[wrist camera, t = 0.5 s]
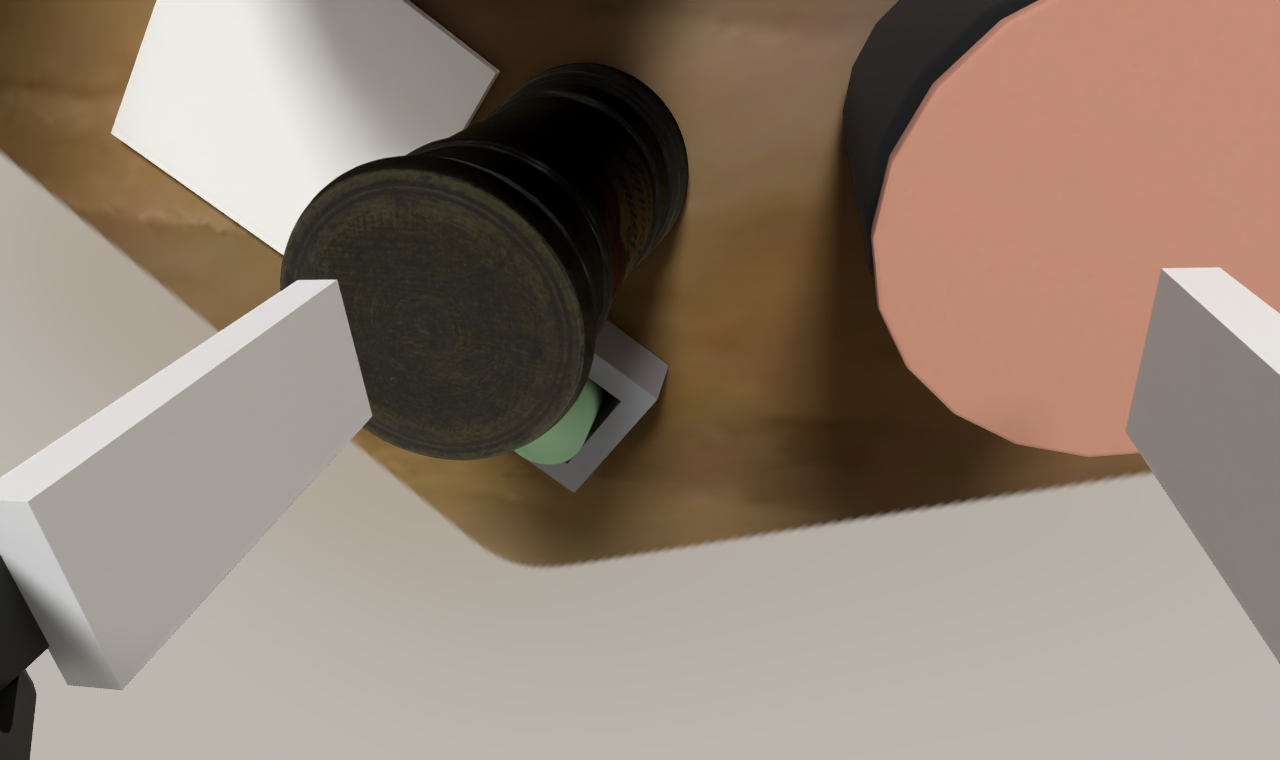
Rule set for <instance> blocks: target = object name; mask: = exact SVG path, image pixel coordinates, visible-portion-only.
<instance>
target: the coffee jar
mask: <svg viewBox="0 0 1280 760" xmlns="http://www.w3.org/2000/svg"><path fill="white" fill-rule="evenodd" d="M843 116H844V126H845V136H846V146H847V155H848V160H849V165H850V170H851V175H852V181H853V186H854V191H855V196H856V202H857V207H858V212H859V217H860V222H861V228H862V233H863V238H864V243H865V249H866V254H867V259H868V264H869V269H870V271H871V273H872V275H873V278H874V280H875V286H876V297H877V307H878V309H879V311H880V314H881V316H882V318H883V320H884V322H885V324H886V326H887V328H888V330H889V332H890V335H891V337H892V339H893V341H894V343H895V345H896V347H897V349H898V351H899V353H900V355H901V358H902V360H903V362H904V364H905V366H906V367H907V368H908V369H909V370H910V371H911V372H912V373H913V374H914V375H915V376H916V377H917V378H918V379H919V380H920V381H921V382H922V383H923V384H924V385H925V386H926V387H927V388H928V389H929V390H930V391H931V392H932V393H933V394H934V395H935V396H936V397H937V398H938V399H939V400H940V401H941V402H942V403H943V404H944V405H945V406H946V407H947V408H948V409H949V410H950V411H952V412H953V413H954V414H956V415H958V416H960V417H962V418H964V419H966V420H968V421H970V422H972V423H974V424H976V425H978V426H980V427H982V428H984V429H986V430H988V431H990V432H992V433H994V434H996V435H999V436H1001V437H1003V438H1005V439H1007V440H1009V441H1011V442H1013V443H1015V444H1018V445H1024V446H1030V447H1035V448H1041V449H1047V450H1052V451H1058V452H1063V453H1069V454H1075V455H1080V456H1086V457H1093V456H1107V455H1120V454H1134V453H1139V451H1138V450H1137V448H1136V447H1135V445H1134V444H1133V442H1132V441H1131V439H1130V438H1129V436H1128V434H1127V433H1126V426H1127V421H1128V417H1129V412H1130V408H1131V403H1132V399H1133V394H1134V390H1135V385H1136V380H1137V376H1138V371H1139V367H1140V362H1141V358H1142V353H1143V348H1144V344H1145V339H1146V335H1147V330H1148V326H1149V321H1150V317H1151V312H1152V307H1153V303H1154V298H1155V294H1156V289H1157V285H1158V280H1159V275H1160V271H1161V268H1213V267H1220V268H1221V269H1222V270H1224V271H1225V272H1226V273H1228V274H1229V275H1230V276H1232V277H1233V278H1234V279H1235V280H1237V281H1238V282H1239V283H1241V284H1242V285H1243V286H1244V287H1246V288H1247V289H1248V290H1250V291H1251V292H1252V293H1254V294H1255V295H1256V296H1257V297H1259V298H1260V299H1261V300H1263V301H1264V302H1265V303H1267V304H1268V305H1269V306H1270V307H1272V308H1273V309H1274V310H1276V311H1277V312H1278V313H1279V314H1280V0H899V1H898V2H897V3H896V4H895V5H894V6H893V7H892V8H891V9H890V10H889V11H888V12H887V13H886V14H885V15H884V16H883V17H882V18H881V19H880V20H879V21H878V22H877V23H876V25H875V27H874V28H873V30H872V32H871V34H870V36H869V38H868V39H867V41H866V43H865V45H864V47H863V49H862V50H861V52H860V54H859V56H858V58H857V60H856V61H855V63H854V65H853V67H852V72H851V76H850V81H849V86H848V90H847V95H846V100H845V105H844V109H843Z"/></svg>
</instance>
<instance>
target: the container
mask: <svg viewBox="0 0 1280 760" xmlns="http://www.w3.org/2000/svg"><path fill="white" fill-rule="evenodd" d="M687 185H688V160H687V152H686V147H685V143H684V140H683V137H682V134H681V131H680V129H679V126H678V124H677V122H676V120H675V118H674V117H673V115H672V113H671V112H670V110H669V109H668V107H667V106H666V105H665V104H664V102H663V101H662V100H661V99H660V98H659V97H658V96H657V95H656V94H655V93H654V92H653V91H652V90H651V89H650V88H649V87H648V86H646V85H645V84H644V83H642V82H641V81H640V80H638V79H636V78H635V77H633V76H631V75H629V74H627V73H625V72H623V71H621V70H618V69H615V68H613V67H609V66H605V65H600V64H594V63H574V64H567V65H563V66H559V67H555V68H552V69H549V70H547V71H544V72H542V73H540V74H539V75H537V76H535V77H534V78H532V79H530V80H529V81H528V82H526V83H525V84H524V85H523V86H521V87H520V88H518V89H517V90H516V91H515V92H513V93H512V94H511V95H510V96H509V97H508V98H507V99H506V100H505V101H504V102H503V104H502V105H501V106H499V107H498V108H496V109H495V110H494V111H493V112H492V113H490V114H489V115H488V116H487V118H486V119H485V120H482V121H480V122H478V123H476V124H475V125H473V126H471V127H469V128H467V129H465V130H462V131H460V132H458V133H456V134H454V135H452V136H450V137H448V138H444V139H440V140H436V141H433V142H430V143H428V144H425V145H423V146H421V147H419V148H417V149H415V150H413V151H412V152H410V153H408V154H407V155H405V156H395V157H388V158H383V159H378V160H374V161H371V162H368V163H365V164H362V165H359V166H357V167H355V168H353V169H351V170H349V171H347V172H345V173H343V174H342V175H340V176H338V177H337V178H336V179H334V180H333V181H332V182H330V183H329V184H328V185H327V186H326V187H324V188H323V189H322V190H321V191H320V192H319V193H318V194H317V195H316V196H315V197H314V198H313V199H312V201H311V202H310V203H309V204H308V206H307V207H306V208H305V210H304V211H303V213H302V214H301V216H300V217H299V219H298V221H297V222H296V224H295V226H294V228H293V230H292V232H291V235H290V237H289V240H288V243H287V246H286V249H285V252H284V257H283V261H282V267H281V278H280V291H282V290H283V289H285V288H286V287H288V286H289V285H291V284H292V283H294V282H296V281H297V280H337V281H338V285H339V288H340V292H341V296H342V300H343V304H344V308H345V312H346V316H347V320H348V323H349V327H350V331H351V335H352V339H353V343H354V347H355V351H356V354H357V358H358V362H359V366H360V370H361V374H362V378H363V382H364V386H365V389H366V393H367V397H368V401H369V405H370V409H371V413H372V417H371V418H370V419H369V420H368V421H367V423H366V424H365V425H364V426H363V427H362V428H364V429H365V430H367V431H368V432H370V433H372V434H373V435H375V436H377V437H378V438H380V439H382V440H384V441H386V442H388V443H390V444H393V445H395V446H397V447H400V448H402V449H405V450H408V451H411V452H414V453H417V454H421V455H425V456H429V457H434V458H440V459H448V460H475V459H483V458H488V457H493V456H497V455H501V454H505V453H508V452H511V451H513V450H516V449H518V448H521V447H523V446H525V445H527V444H529V443H531V442H533V441H534V440H536V439H538V438H539V437H541V436H542V435H544V434H545V433H546V432H547V431H549V430H550V429H551V428H552V427H554V426H555V425H556V424H557V423H558V422H559V421H560V420H561V419H562V418H563V417H564V416H565V415H566V414H567V412H568V411H569V410H570V409H571V407H572V406H573V405H574V403H575V402H576V400H577V399H578V397H579V395H580V394H581V392H582V390H583V388H584V386H585V384H586V382H587V379H588V376H589V373H590V370H591V366H592V362H593V357H594V351H595V342H596V340H597V338H598V336H599V335H600V333H601V331H602V329H603V327H604V325H605V322H606V320H607V317H608V314H609V311H610V307H611V305H612V304H613V302H614V300H615V299H616V297H617V295H618V293H619V291H620V289H621V287H622V285H623V283H624V281H625V280H626V278H627V276H628V275H629V274H630V273H631V272H632V271H633V270H634V269H635V268H636V267H637V266H638V265H639V263H640V262H641V261H642V260H643V259H645V258H646V257H647V256H648V255H649V254H650V253H651V252H652V251H653V250H654V249H655V248H656V247H657V245H658V244H659V243H660V242H661V241H662V240H663V239H664V238H665V237H666V235H667V234H668V233H669V231H670V230H671V228H672V227H673V225H674V224H675V222H676V220H677V218H678V216H679V214H680V211H681V209H682V206H683V203H684V200H685V196H686V192H687Z"/></svg>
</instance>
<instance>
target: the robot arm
mask: <svg viewBox="0 0 1280 760" xmlns="http://www.w3.org/2000/svg"><path fill="white" fill-rule="evenodd" d="M371 417H372V413H371V409H370V405H369V401H368V397H367V393H366V389H365V386H364V382H363V378H362V374H361V370H360V366H359V362H358V358H357V354H356V351H355V347H354V343H353V339H352V335H351V331H350V327H349V323H348V320H347V316H346V312H345V308H344V304H343V300H342V296H341V292H340V288H339V285H338V281H337V280H297V281H296V282H294V283H292V284H291V285H289V286H288V287H286V288H285V289H283V290H282V291H280V292H279V293H277V294H276V295H274V296H273V297H271V298H270V299H268V300H267V301H265V302H264V303H262V304H261V305H259V306H258V307H256V308H255V309H253V310H252V311H250V312H249V313H247V314H246V315H244V316H243V317H241V318H240V319H238V320H237V321H235V322H234V323H232V324H231V325H229V326H228V327H226V328H225V329H223V330H222V331H220V332H219V333H217V334H216V335H214V336H213V337H211V338H210V339H208V340H207V341H205V342H203V343H202V344H200V345H199V346H197V347H196V348H194V349H193V350H191V351H190V352H188V353H187V354H185V355H184V356H182V357H181V358H179V359H178V360H176V361H175V362H173V363H172V364H170V365H169V366H167V367H166V368H165V369H163V370H161V371H160V372H158V373H157V374H155V375H154V376H152V377H151V378H149V379H148V380H146V381H145V382H143V383H142V384H140V385H139V386H137V387H136V388H134V389H133V390H131V391H130V392H128V393H127V394H125V395H124V396H122V397H121V398H119V399H117V400H116V401H115V402H113V403H112V404H110V405H109V406H107V407H105V408H104V409H102V410H101V411H99V412H98V413H97V414H95V415H93V416H92V417H90V418H89V419H87V420H86V421H84V422H83V423H81V424H80V425H78V426H77V427H75V428H74V429H72V430H71V431H69V432H68V433H66V434H65V435H63V436H62V437H60V438H59V439H57V440H56V441H54V442H53V443H51V444H50V445H48V446H47V447H45V448H44V449H42V450H41V451H39V452H38V453H36V454H35V455H33V456H32V457H30V458H29V459H27V460H25V461H24V462H22V463H21V464H19V465H18V466H16V467H15V468H13V469H12V470H11V471H9V472H7V473H6V474H4V475H3V476H1V477H0V760H30V750H31V741H32V732H33V722H34V713H35V704H36V691H35V688H34V684H33V682H32V680H31V678H30V677H29V675H28V673H27V671H26V670H25V669H26V668H27V667H28V666H29V665H30V664H31V663H32V662H33V661H34V660H35V659H36V658H38V656H40V655H41V654H42V653H43V652H44V651H45V650H46V649H47V648H48V649H49V651H50V653H51V655H52V657H53V659H54V660H55V662H56V664H57V666H58V668H59V670H60V671H61V673H62V675H63V677H64V679H65V681H66V682H67V684H68V685H73V686H84V687H95V688H106V689H116V690H123V688H124V687H125V686H126V685H127V684H128V683H129V682H130V681H131V680H132V679H133V677H134V676H135V675H136V674H137V673H138V672H139V671H140V670H141V669H142V668H143V667H144V665H145V664H146V663H147V662H148V661H149V660H150V659H151V658H152V657H153V656H154V655H155V653H156V652H157V651H158V650H159V649H160V648H161V647H162V646H163V645H164V643H165V642H166V641H167V640H168V639H169V638H170V637H171V636H172V635H173V634H174V633H175V632H176V630H177V629H178V628H179V627H180V626H181V625H182V624H183V623H184V622H185V620H187V618H188V617H189V616H190V615H191V614H192V613H193V612H194V611H195V610H196V609H197V607H198V606H199V605H200V604H201V603H202V602H203V601H204V600H205V599H206V598H207V596H208V595H209V594H210V593H211V592H212V591H213V590H214V589H215V588H216V587H217V585H218V584H219V583H220V582H221V581H222V580H223V579H224V578H225V577H226V576H227V575H228V574H229V572H230V571H231V570H232V569H233V568H234V567H235V566H236V565H237V563H239V562H240V560H241V559H242V558H243V557H244V556H245V555H246V554H247V553H248V552H249V551H250V549H251V548H252V547H253V546H254V545H255V544H256V543H257V542H258V541H259V540H260V539H261V537H262V536H263V535H264V534H265V533H266V532H267V531H268V530H269V528H271V526H272V525H273V524H274V523H275V522H276V521H277V520H278V519H279V518H280V516H282V514H283V513H284V512H285V511H286V510H287V509H288V508H289V507H290V506H291V505H292V504H293V502H294V501H295V500H296V499H297V498H298V497H299V496H300V495H301V494H302V493H303V491H304V490H305V489H306V488H307V487H308V486H309V485H310V484H311V483H312V482H313V480H314V479H315V478H316V477H317V476H318V475H319V474H320V473H321V472H322V471H323V470H324V468H325V467H326V466H327V465H328V464H329V463H330V462H331V461H332V460H333V459H334V458H335V456H336V455H337V454H338V453H339V452H340V451H341V450H342V448H344V447H345V446H346V444H347V443H348V442H349V441H350V440H351V439H352V438H353V437H354V436H355V435H356V433H357V432H358V431H359V430H360V429H361V428H362V427H363V426H364V425H365V424H366V423H367V421H368V420H369V419H370V418H371ZM1126 433H1127V434H1128V436H1129V438H1130V439H1131V441H1132V442H1133V444H1134V445H1135V447H1136V448H1137V450H1138V451H1139V453H1140V454H1141V456H1142V457H1143V459H1144V460H1145V462H1146V463H1147V465H1148V466H1149V468H1150V469H1151V471H1152V472H1153V474H1154V475H1155V476H1156V478H1157V480H1158V481H1159V483H1160V484H1161V485H1162V487H1163V489H1164V490H1165V492H1166V493H1167V495H1168V496H1169V498H1170V499H1171V501H1172V502H1173V504H1174V505H1175V507H1176V508H1177V510H1178V511H1179V513H1180V514H1181V516H1182V517H1183V519H1184V520H1185V522H1186V523H1187V525H1188V526H1189V528H1190V529H1191V531H1192V532H1193V534H1194V535H1195V537H1196V538H1197V540H1198V541H1199V543H1200V544H1201V546H1202V547H1203V549H1204V550H1205V552H1206V553H1207V555H1208V556H1209V558H1210V559H1211V561H1212V562H1213V564H1214V565H1215V567H1216V568H1217V570H1218V571H1219V573H1220V574H1221V576H1222V577H1223V579H1224V580H1225V582H1226V583H1227V585H1228V586H1229V588H1230V589H1231V591H1232V592H1233V594H1234V595H1235V597H1236V598H1237V600H1238V601H1239V603H1240V604H1241V606H1242V607H1243V609H1244V610H1245V612H1246V613H1247V615H1248V616H1249V618H1250V620H1251V621H1252V623H1253V624H1254V626H1255V627H1256V628H1257V630H1258V631H1259V633H1260V635H1261V636H1262V638H1263V639H1264V640H1265V642H1266V643H1267V645H1268V646H1269V648H1270V650H1271V651H1272V653H1273V654H1274V655H1275V657H1276V658H1277V660H1278V662H1279V663H1280V314H1279V313H1278V312H1277V311H1276V310H1274V309H1273V308H1272V307H1270V306H1269V305H1268V304H1267V303H1265V302H1264V301H1263V300H1261V299H1260V298H1259V297H1257V296H1256V295H1255V294H1254V293H1252V292H1251V291H1250V290H1248V289H1247V288H1246V287H1244V286H1243V285H1242V284H1241V283H1239V282H1238V281H1237V280H1235V279H1234V278H1233V277H1232V276H1230V275H1229V274H1228V273H1226V272H1225V271H1224V270H1222V269H1221V268H1220V267H1213V268H1161V271H1160V275H1159V280H1158V285H1157V289H1156V294H1155V298H1154V303H1153V307H1152V312H1151V317H1150V321H1149V326H1148V330H1147V335H1146V339H1145V344H1144V348H1143V353H1142V358H1141V362H1140V367H1139V371H1138V376H1137V380H1136V385H1135V390H1134V394H1133V399H1132V403H1131V408H1130V412H1129V417H1128V421H1127V426H1126Z"/></svg>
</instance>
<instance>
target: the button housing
mask: <svg viewBox="0 0 1280 760" xmlns="http://www.w3.org/2000/svg"><path fill="white" fill-rule="evenodd" d="M668 367H669V365H667V364H666V363H664V362H663V361H662V360H660V359H659V358H658V357H656V356H655V355H654V354H652V353H651V352H650V351H648V350H647V349H646V348H644V347H643V346H642V345H640V344H639V343H638V342H636V341H635V340H634V339H632V338H631V337H630V336H628V335H627V334H625V333H624V332H623V331H621V330H620V329H619V328H617V327H616V326H615V325H613V324H612V323H611V322H609V321H608V320H606V322H605V325H604V327H603V329H602V331H601V333H600V335H599V336H598V338H597V340H596V342H595V351H594V357H593V362H592V366H591V370H590V373H589V376H588V378H590V379H591V380H593V381H594V382H595V383H597V384H598V385H599V386H601V387H602V388H603V389H605V390H606V391H608V392H609V393H610V394H612V396H611V397H610V398H609V400H608V401H607V402H606V403H605V404H604V405H603V407H602V408H601V409H600V410H599V411H598V413H597V415H596V417H595V420H594V422H593V424H592V426H591V428H590V430H589V433H588V435H587V437H586V439H585V441H584V443H583V445H582V447H581V449H580V450H579V452H578V453H577V454H576V455H575V456H574V457H572V458H571V459H569V460H567V461H565V462H562V463H559V464H551V465H549V464H539V463H535V462H532V461H529V460H528V461H529V462H530V463H532V464H533V465H535V466H536V467H538V468H539V469H540V470H542V471H543V472H545V473H546V474H548V475H549V476H550V477H552V478H553V479H555V480H556V481H558V482H559V483H560V484H562V485H563V486H565V487H566V488H568V489H569V490H570V491H572V492H573V493H575V492H576V491H577V489H578V488H579V487H580V486H581V485H582V484H583V483H584V482H585V480H586V479H587V478H588V477H589V476H590V475H591V474H592V473H593V471H594V470H595V469H596V468H597V467H598V466H599V465H600V463H601V462H602V461H603V460H604V459H605V458H606V457H607V456H608V454H609V453H610V452H611V451H612V450H613V449H614V448H615V447H616V445H617V444H618V443H619V442H620V441H621V440H622V439H623V438H624V436H625V435H626V434H627V433H628V432H629V431H630V430H631V429H632V427H633V426H634V425H635V424H636V423H637V422H638V421H639V420H640V418H641V417H642V416H643V415H644V414H645V413H646V412H647V410H648V409H649V408H650V407H651V406H652V405H653V404H654V403H655V401H656V400H657V399H658V396H659V393H660V390H661V387H662V384H663V381H664V378H665V375H666V372H667V369H668ZM513 451H514V450H513ZM526 460H527V459H526Z"/></svg>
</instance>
